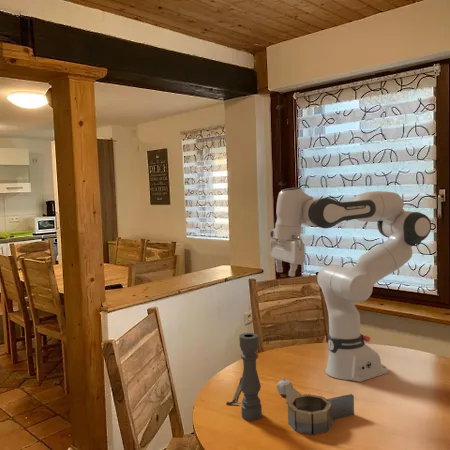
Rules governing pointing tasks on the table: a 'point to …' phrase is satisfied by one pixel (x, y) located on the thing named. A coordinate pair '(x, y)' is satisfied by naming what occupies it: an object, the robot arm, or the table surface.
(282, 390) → the garlic
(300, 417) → the octagonal collar with flanges
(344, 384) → the table surface
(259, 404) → the candle holder
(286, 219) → the robot arm
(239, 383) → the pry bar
